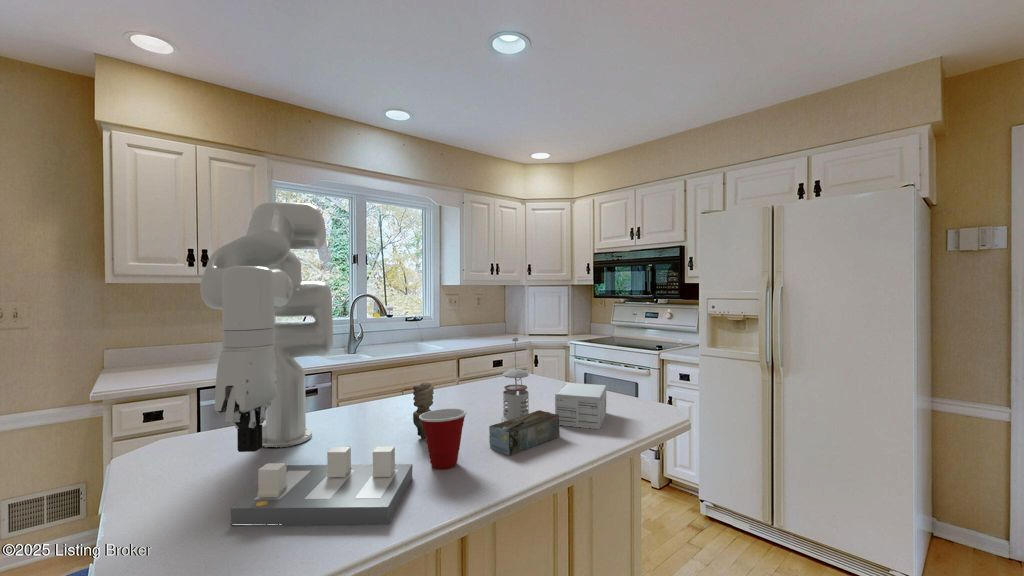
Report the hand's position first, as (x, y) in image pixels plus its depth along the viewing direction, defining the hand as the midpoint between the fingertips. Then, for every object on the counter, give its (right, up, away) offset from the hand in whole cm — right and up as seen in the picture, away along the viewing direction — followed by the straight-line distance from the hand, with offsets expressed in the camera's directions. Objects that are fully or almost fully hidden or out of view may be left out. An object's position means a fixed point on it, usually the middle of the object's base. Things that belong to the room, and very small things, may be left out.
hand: (250, 449), depth 72 cm
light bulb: (+20, -14, +44) cm, 50 cm away
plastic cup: (+28, -14, +27) cm, 41 cm away
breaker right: (+18, -10, +15) cm, 25 cm away
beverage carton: (+47, -14, +41) cm, 64 cm away
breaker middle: (+9, -10, +15) cm, 20 cm away
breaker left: (0, -10, +7) cm, 13 cm away
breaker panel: (+9, -14, +11) cm, 20 cm away
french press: (+45, -13, +62) cm, 78 cm away
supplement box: (+65, -13, +60) cm, 89 cm away
